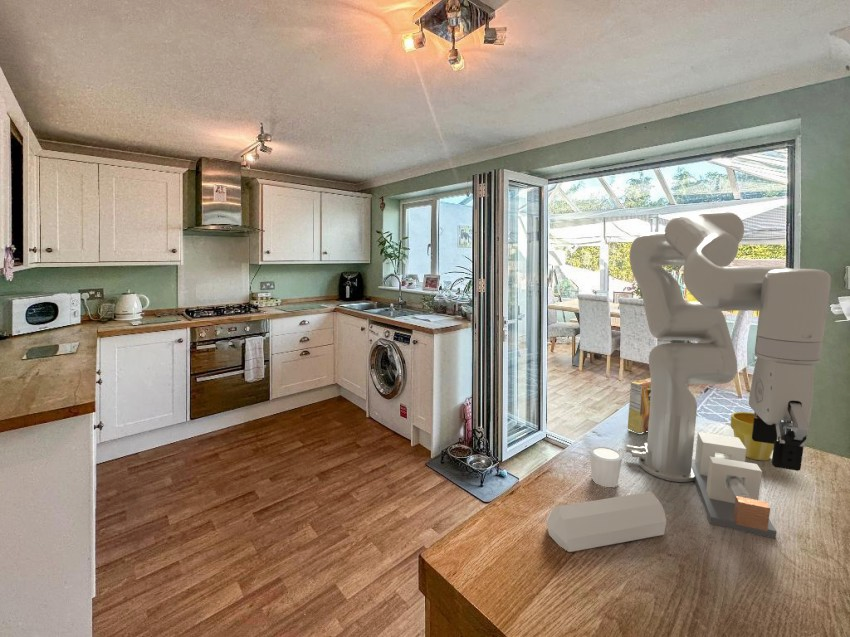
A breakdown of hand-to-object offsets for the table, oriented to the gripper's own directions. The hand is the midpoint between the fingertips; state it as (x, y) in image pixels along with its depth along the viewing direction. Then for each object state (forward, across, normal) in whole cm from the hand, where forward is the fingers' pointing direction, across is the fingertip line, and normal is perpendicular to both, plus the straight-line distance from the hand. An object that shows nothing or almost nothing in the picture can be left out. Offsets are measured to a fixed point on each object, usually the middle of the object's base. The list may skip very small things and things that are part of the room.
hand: (773, 453), depth 63 cm
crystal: (+21, +1, -24) cm, 32 cm away
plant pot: (+20, -47, +11) cm, 52 cm away
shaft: (+16, -15, 0) cm, 22 cm away
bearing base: (+20, -22, 0) cm, 30 cm away
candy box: (+20, -52, -14) cm, 57 cm away
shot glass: (+20, -18, -24) cm, 36 cm away
